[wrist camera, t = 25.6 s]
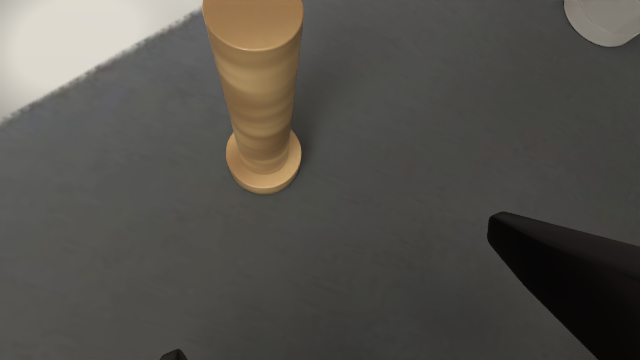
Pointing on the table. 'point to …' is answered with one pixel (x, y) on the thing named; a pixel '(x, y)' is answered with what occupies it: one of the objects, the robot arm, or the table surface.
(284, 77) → the tan wooden tall piece
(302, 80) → the table surface
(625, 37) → the cup
